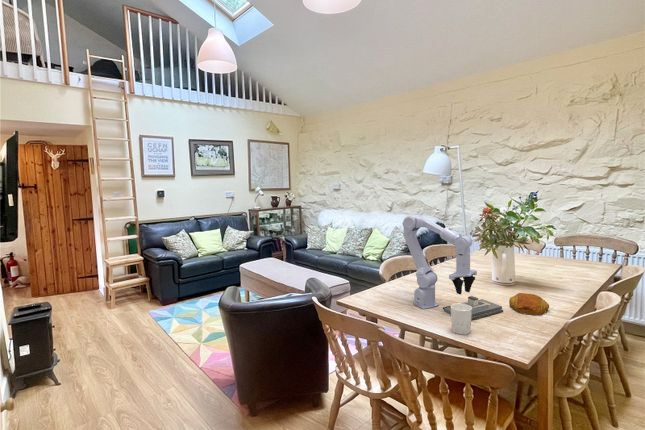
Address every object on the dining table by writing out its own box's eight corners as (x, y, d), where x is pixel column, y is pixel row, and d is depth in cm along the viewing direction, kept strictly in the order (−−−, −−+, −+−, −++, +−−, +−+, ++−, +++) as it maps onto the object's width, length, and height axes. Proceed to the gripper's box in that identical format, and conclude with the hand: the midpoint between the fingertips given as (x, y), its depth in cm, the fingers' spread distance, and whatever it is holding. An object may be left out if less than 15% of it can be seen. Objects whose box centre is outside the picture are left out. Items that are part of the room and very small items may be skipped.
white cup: (466, 326, 144) (466, 302, 143) (475, 334, 136) (475, 310, 135) (447, 327, 144) (447, 303, 143) (455, 336, 136) (455, 311, 135)
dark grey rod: (444, 309, 162) (444, 307, 162) (442, 309, 163) (442, 307, 163) (476, 301, 170) (476, 299, 170) (475, 301, 171) (475, 299, 171)
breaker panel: (462, 320, 150) (462, 313, 150) (444, 311, 160) (443, 305, 160) (502, 309, 160) (502, 303, 160) (482, 302, 170) (482, 296, 170)
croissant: (513, 306, 169) (510, 289, 169) (551, 308, 159) (548, 290, 159) (506, 315, 158) (503, 297, 158) (546, 318, 148) (543, 299, 148)
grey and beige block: (474, 308, 158) (474, 299, 157) (467, 306, 161) (467, 296, 161) (478, 307, 159) (478, 298, 158) (471, 305, 162) (471, 295, 162)
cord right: (469, 321, 149) (469, 319, 148) (467, 320, 149) (467, 318, 149) (503, 312, 157) (503, 309, 157) (501, 311, 158) (501, 309, 158)
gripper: (457, 267, 149) (457, 298, 150) (482, 262, 154) (482, 292, 156) (445, 263, 155) (445, 293, 156) (469, 259, 161) (469, 288, 162)
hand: (463, 292), depth 157 cm, fingers open, 4 cm apart
